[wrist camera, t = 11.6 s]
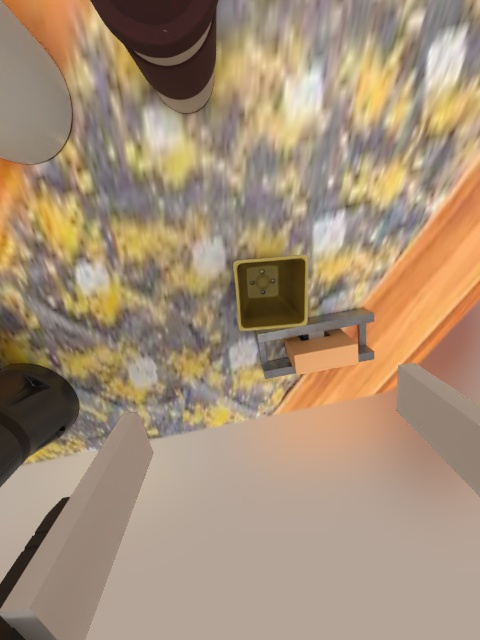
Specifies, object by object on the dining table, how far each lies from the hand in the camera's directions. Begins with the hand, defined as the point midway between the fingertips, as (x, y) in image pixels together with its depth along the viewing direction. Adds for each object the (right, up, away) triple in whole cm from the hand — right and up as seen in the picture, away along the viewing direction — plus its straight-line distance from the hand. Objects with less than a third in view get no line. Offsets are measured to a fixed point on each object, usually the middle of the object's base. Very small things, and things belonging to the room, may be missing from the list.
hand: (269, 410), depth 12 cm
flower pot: (+2, +10, +25) cm, 27 cm away
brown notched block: (+11, +1, +28) cm, 30 cm away
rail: (+11, +1, +28) cm, 30 cm away
